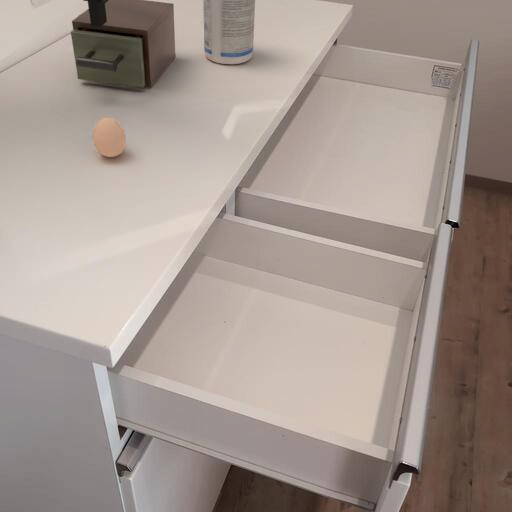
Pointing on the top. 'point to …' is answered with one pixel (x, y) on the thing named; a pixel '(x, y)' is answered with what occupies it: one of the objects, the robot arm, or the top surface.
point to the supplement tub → (228, 30)
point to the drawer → (109, 57)
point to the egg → (109, 137)
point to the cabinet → (141, 30)
